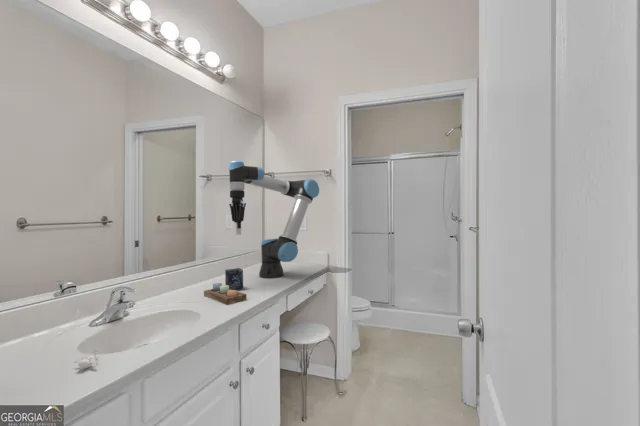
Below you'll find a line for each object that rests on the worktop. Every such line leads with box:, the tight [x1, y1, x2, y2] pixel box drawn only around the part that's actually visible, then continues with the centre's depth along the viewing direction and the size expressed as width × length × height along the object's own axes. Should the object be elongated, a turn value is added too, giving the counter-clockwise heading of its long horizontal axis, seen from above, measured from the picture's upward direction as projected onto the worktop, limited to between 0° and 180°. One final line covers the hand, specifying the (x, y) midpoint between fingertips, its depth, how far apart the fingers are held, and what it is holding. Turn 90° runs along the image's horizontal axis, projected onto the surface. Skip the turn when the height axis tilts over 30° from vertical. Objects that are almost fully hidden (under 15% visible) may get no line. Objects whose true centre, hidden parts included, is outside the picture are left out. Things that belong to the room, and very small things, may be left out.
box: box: [224, 267, 244, 291], centre depth 164 cm, size 8×6×11 cm
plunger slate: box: [212, 282, 223, 292], centre depth 154 cm, size 4×4×4 cm
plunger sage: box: [220, 284, 229, 294], centre depth 149 cm, size 4×4×4 cm
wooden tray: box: [203, 288, 247, 305], centre depth 149 cm, size 10×22×2 cm, turn 45°
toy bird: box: [73, 349, 100, 370], centre depth 83 cm, size 8×5×5 cm, turn 78°
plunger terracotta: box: [227, 290, 238, 297], centre depth 144 cm, size 4×4×4 cm
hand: (238, 234), depth 168 cm, fingers closed
